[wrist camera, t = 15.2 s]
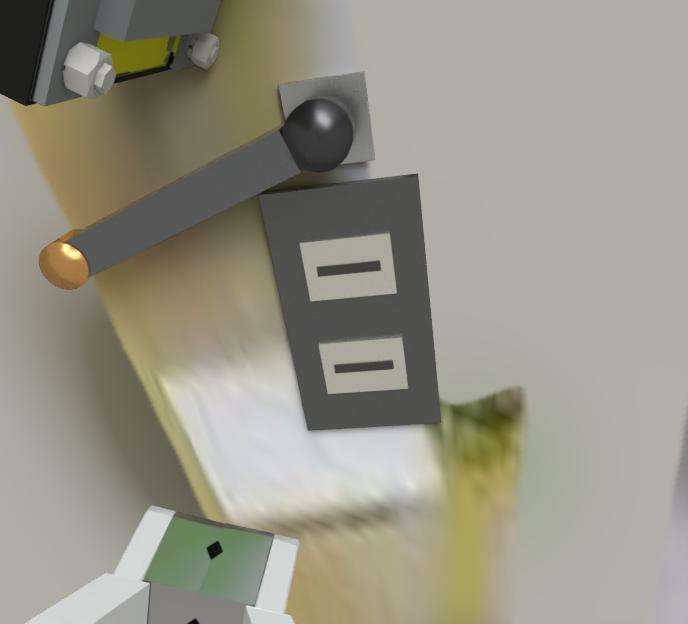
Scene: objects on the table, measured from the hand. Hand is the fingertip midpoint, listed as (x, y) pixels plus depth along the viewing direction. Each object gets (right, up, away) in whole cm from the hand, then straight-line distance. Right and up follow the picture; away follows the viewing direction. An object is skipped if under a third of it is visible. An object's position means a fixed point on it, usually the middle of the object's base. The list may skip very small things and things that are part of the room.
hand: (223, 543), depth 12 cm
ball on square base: (+1, +18, +32) cm, 37 cm away
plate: (+4, +4, +38) cm, 39 cm away
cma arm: (-8, +13, +32) cm, 35 cm away
